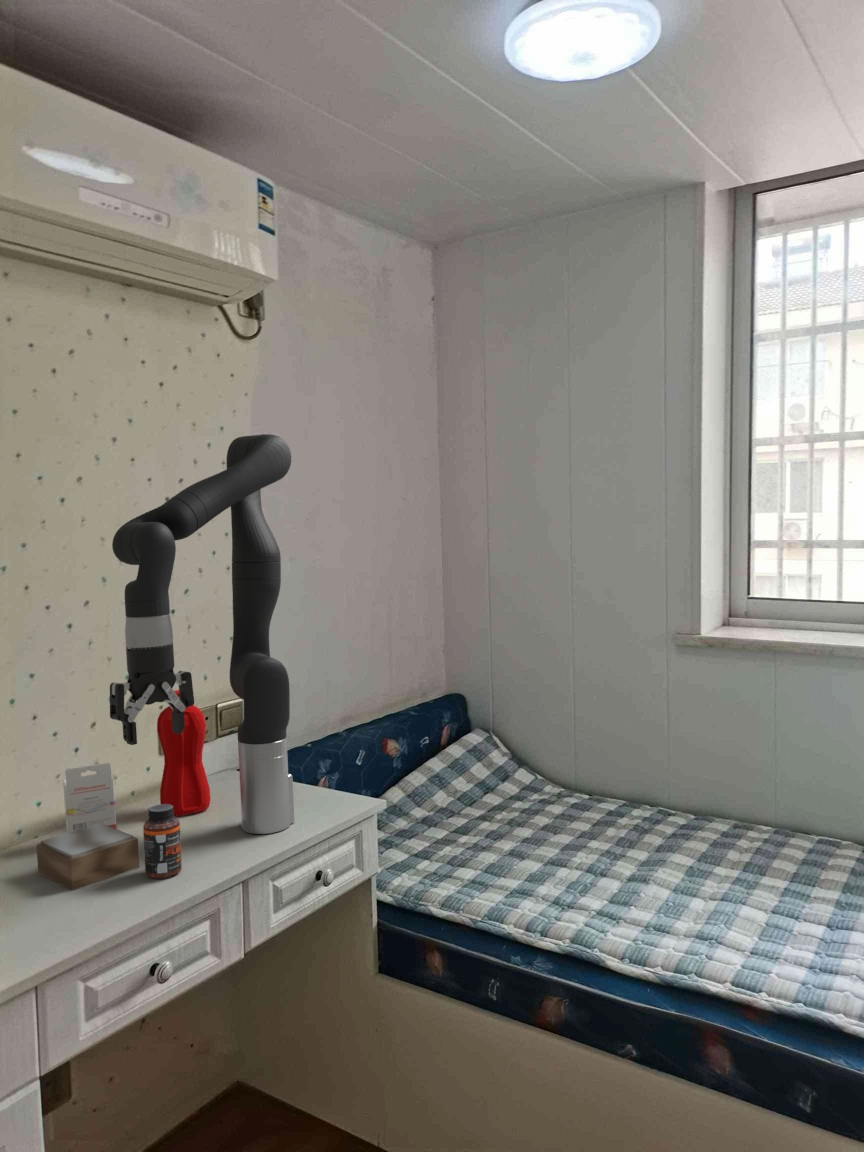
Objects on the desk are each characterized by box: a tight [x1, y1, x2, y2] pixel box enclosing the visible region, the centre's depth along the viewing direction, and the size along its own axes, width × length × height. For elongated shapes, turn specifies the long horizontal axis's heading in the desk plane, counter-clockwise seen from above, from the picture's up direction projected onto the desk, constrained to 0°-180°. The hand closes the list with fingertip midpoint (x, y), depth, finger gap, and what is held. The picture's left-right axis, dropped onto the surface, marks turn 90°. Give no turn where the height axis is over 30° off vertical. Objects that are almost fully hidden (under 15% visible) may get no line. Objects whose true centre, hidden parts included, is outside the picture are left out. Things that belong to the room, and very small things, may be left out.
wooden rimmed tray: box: [36, 823, 140, 891], centre depth 151 cm, size 12×12×6 cm
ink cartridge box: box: [62, 762, 118, 834], centre depth 166 cm, size 9×5×15 cm, turn 117°
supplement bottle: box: [142, 803, 183, 879], centre depth 148 cm, size 6×6×11 cm
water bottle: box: [156, 689, 211, 817], centre depth 182 cm, size 9×11×25 cm
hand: (155, 738), depth 147 cm, fingers open, 8 cm apart
